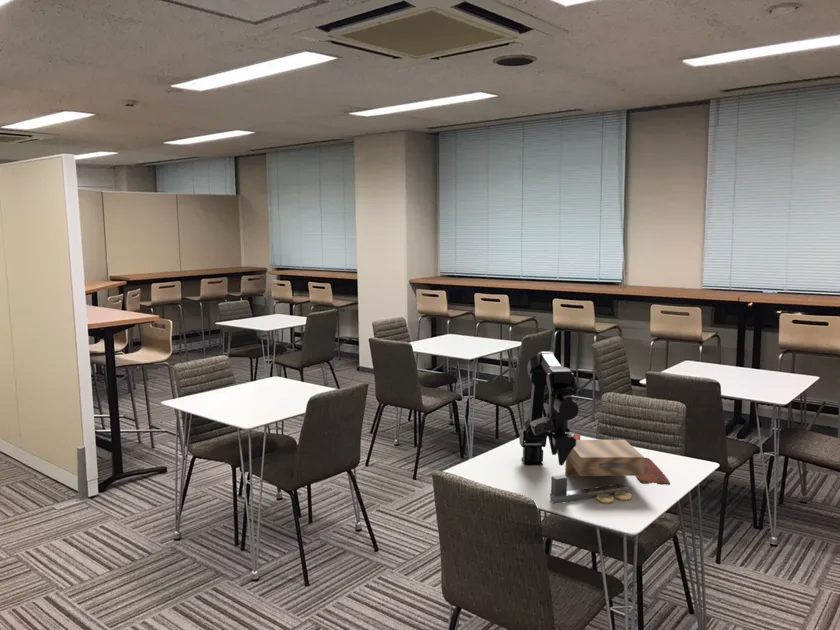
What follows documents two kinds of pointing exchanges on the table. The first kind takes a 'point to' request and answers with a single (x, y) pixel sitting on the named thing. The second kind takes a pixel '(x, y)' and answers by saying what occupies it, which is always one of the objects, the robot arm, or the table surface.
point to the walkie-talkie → (575, 435)
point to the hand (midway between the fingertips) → (557, 459)
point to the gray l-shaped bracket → (579, 491)
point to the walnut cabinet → (604, 459)
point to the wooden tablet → (652, 474)
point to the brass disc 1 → (605, 498)
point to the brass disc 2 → (622, 496)
